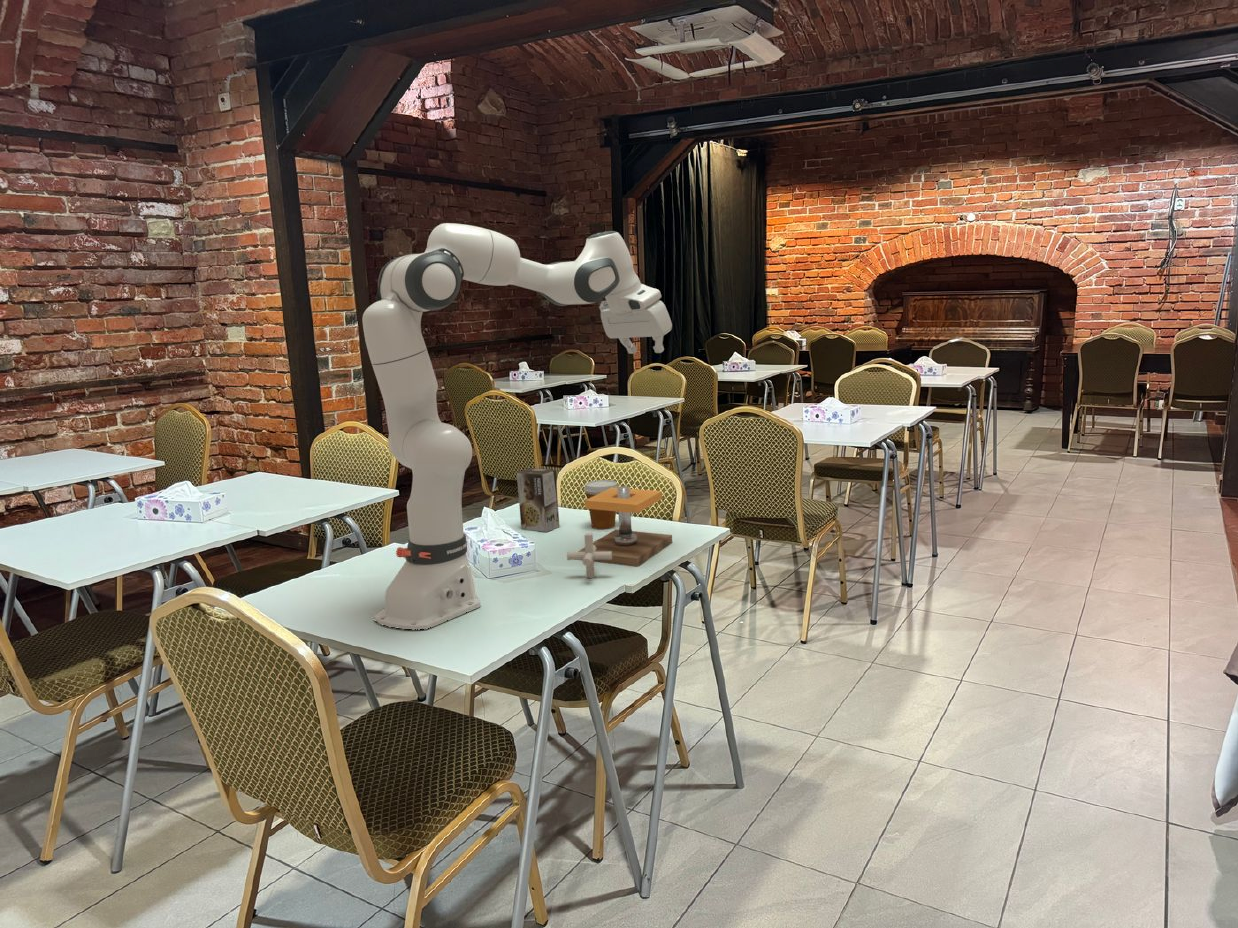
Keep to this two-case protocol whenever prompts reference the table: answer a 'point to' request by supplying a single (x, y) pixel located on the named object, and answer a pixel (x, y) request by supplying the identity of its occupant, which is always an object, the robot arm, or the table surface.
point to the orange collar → (623, 500)
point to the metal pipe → (625, 523)
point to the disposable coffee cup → (600, 517)
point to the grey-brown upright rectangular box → (538, 499)
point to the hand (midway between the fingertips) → (646, 352)
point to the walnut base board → (632, 548)
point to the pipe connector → (589, 555)
